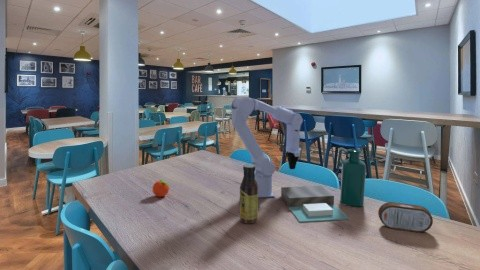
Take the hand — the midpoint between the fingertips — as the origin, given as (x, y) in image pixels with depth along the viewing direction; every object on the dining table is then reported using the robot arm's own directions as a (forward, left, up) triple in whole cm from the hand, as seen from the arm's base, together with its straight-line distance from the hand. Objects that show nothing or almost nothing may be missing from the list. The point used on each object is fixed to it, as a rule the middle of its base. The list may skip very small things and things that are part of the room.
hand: (292, 168), depth 122 cm
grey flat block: (+2, -14, -10) cm, 17 cm away
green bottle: (+19, -17, -10) cm, 27 cm away
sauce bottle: (-24, -28, -10) cm, 38 cm away
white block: (+2, -25, -8) cm, 26 cm away
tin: (+25, -40, -10) cm, 48 cm away
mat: (+2, -26, -10) cm, 27 cm away
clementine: (-58, -1, -10) cm, 59 cm away
